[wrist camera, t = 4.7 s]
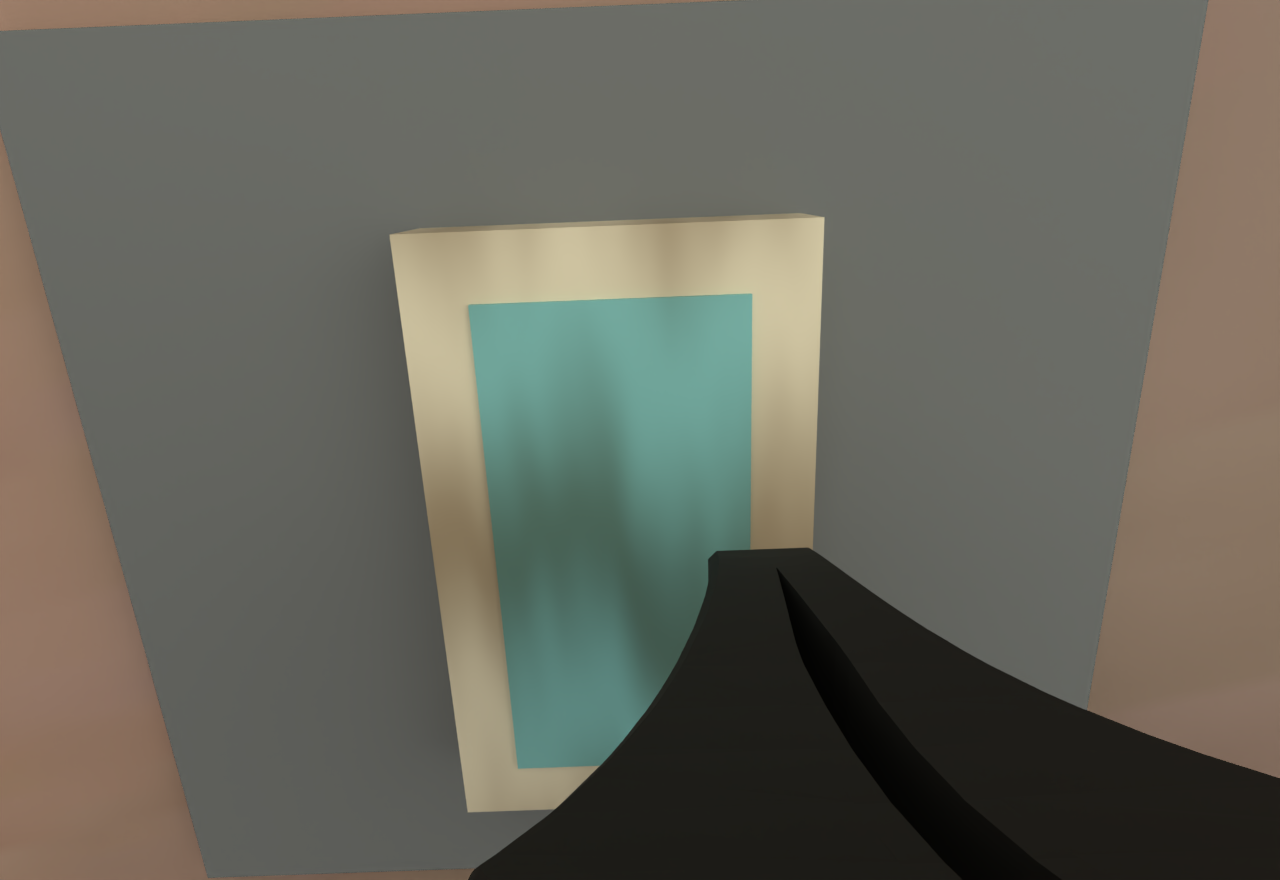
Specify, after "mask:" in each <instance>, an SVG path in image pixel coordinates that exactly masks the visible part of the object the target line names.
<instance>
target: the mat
mask: <svg viewBox="0 0 1280 880" xmlns="http://www.w3.org/2000/svg"><path fill="white" fill-rule="evenodd" d="M1207 5H1208V0H739V1H715V2H690V3H666V4H642V5H618V6H594V7H569V8H545V9H521V10H497V11H473V12H448V13H424V14H400V15H376V16H352V17H327V18H303V19H279V20H255V21H231V22H206V23H182V24H158V25H134V26H110V27H85V28H61V29H37V30H13V31H0V130H1V134H2V138H3V141H4V145H5V148H6V152H7V156H8V159H9V163H10V166H11V170H12V174H13V177H14V181H15V184H16V188H17V192H18V195H19V199H20V202H21V206H22V210H23V213H24V217H25V220H26V224H27V228H28V231H29V235H30V239H31V242H32V246H33V249H34V253H35V257H36V260H37V264H38V267H39V271H40V275H41V278H42V282H43V285H44V289H45V293H46V296H47V300H48V303H49V307H50V311H51V314H52V318H53V321H54V325H55V329H56V332H57V336H58V339H59V343H60V347H61V350H62V354H63V357H64V361H65V365H66V368H67V372H68V375H69V379H70V383H71V386H72V390H73V394H74V397H75V401H76V404H77V408H78V412H79V415H80V419H81V422H82V426H83V430H84V433H85V437H86V440H87V444H88V448H89V451H90V455H91V458H92V462H93V466H94V469H95V473H96V476H97V480H98V484H99V487H100V491H101V494H102V498H103V502H104V505H105V509H106V512H107V516H108V520H109V523H110V527H111V530H112V534H113V538H114V541H115V545H116V548H117V552H118V556H119V559H120V563H121V566H122V570H123V574H124V577H125V581H126V585H127V588H128V592H129V595H130V599H131V603H132V606H133V610H134V613H135V617H136V621H137V624H138V628H139V631H140V635H141V639H142V642H143V646H144V649H145V653H146V657H147V660H148V664H149V667H150V671H151V675H152V678H153V682H154V685H155V689H156V693H157V696H158V700H159V703H160V707H161V711H162V714H163V718H164V721H165V725H166V729H167V732H168V736H169V739H170V743H171V747H172V750H173V754H174V758H175V761H176V765H177V768H178V772H179V776H180V779H181V783H182V786H183V790H184V794H185V797H186V801H187V804H188V808H189V812H190V815H191V819H192V822H193V826H194V830H195V833H196V837H197V840H198V844H199V848H200V851H201V855H202V858H203V862H204V866H205V869H206V873H207V876H208V878H216V877H244V876H272V875H300V874H328V873H356V872H384V871H412V870H440V869H468V868H477V867H478V866H479V865H481V864H482V863H484V862H485V861H487V860H488V859H490V858H491V857H493V856H494V855H496V854H497V853H498V852H500V851H501V850H502V849H504V848H505V847H506V846H508V845H509V844H510V843H512V842H513V841H514V840H516V839H517V838H518V837H520V836H521V835H522V834H524V833H525V832H526V831H528V830H529V829H530V828H532V827H533V826H534V825H536V824H537V823H538V822H540V821H541V820H542V819H544V818H545V817H546V816H548V815H549V814H550V813H551V812H552V811H553V810H555V809H548V810H520V811H493V812H468V810H467V803H466V796H465V788H464V781H463V774H462V766H461V759H460V752H459V744H458V737H457V729H456V722H455V715H454V707H453V700H452V693H451V685H450V678H449V670H448V663H447V656H446V648H445V641H444V634H443V626H442V619H441V611H440V604H439V597H438V589H437V582H436V575H435V567H434V560H433V552H432V545H431V538H430V530H429V523H428V516H427V508H426V501H425V494H424V486H423V479H422V471H421V464H420V457H419V449H418V442H417V435H416V427H415V420H414V412H413V405H412V398H411V390H410V383H409V376H408V368H407V361H406V353H405V346H404V339H403V331H402V324H401V317H400V309H399V302H398V294H397V287H396V280H395V272H394V265H393V258H392V250H391V243H390V234H395V233H399V232H404V231H409V230H414V229H419V228H439V227H464V226H489V225H514V224H539V223H564V222H589V221H614V220H639V219H664V218H689V217H714V216H739V215H764V214H789V213H803V214H809V215H815V216H820V217H825V218H824V246H823V274H822V302H821V330H820V358H819V386H818V415H817V443H816V471H815V499H814V527H813V551H815V552H817V553H818V554H820V555H821V556H823V557H824V558H825V559H827V560H828V561H830V562H831V563H832V564H834V565H835V566H836V567H838V568H839V569H841V570H842V571H843V572H845V573H846V574H848V575H849V576H850V577H852V578H853V579H854V580H856V581H857V582H859V583H860V584H861V585H863V586H864V587H866V588H867V589H868V590H870V591H871V592H873V593H874V594H875V595H877V596H878V597H880V598H881V599H883V600H884V601H886V602H887V603H888V604H890V605H891V606H893V607H894V608H896V609H897V610H899V611H900V612H902V613H903V614H905V615H906V616H908V617H909V618H911V619H913V620H914V621H916V622H917V623H919V624H920V625H922V626H923V627H925V628H927V629H928V630H930V631H932V632H933V633H935V634H937V635H938V636H940V637H942V638H943V639H945V640H947V641H948V642H950V643H952V644H953V645H955V646H957V647H958V648H960V649H962V650H963V651H965V652H967V653H969V654H971V655H972V656H974V657H976V658H978V659H980V660H982V661H983V662H985V663H987V664H989V665H991V666H993V667H995V668H997V669H999V670H1001V671H1003V672H1005V673H1007V674H1009V675H1011V676H1013V677H1015V678H1017V679H1019V680H1021V681H1023V682H1025V683H1027V684H1029V685H1031V686H1033V687H1035V688H1037V689H1039V690H1042V691H1044V692H1046V693H1048V694H1050V695H1052V696H1055V697H1057V698H1059V699H1061V700H1064V701H1066V702H1068V703H1071V704H1073V705H1075V706H1077V707H1080V708H1082V709H1085V710H1087V706H1088V700H1089V694H1090V689H1091V683H1092V677H1093V671H1094V665H1095V659H1096V654H1097V648H1098V642H1099V636H1100V630H1101V624H1102V619H1103V613H1104V607H1105V601H1106V595H1107V589H1108V583H1109V578H1110V572H1111V566H1112V560H1113V554H1114V548H1115V543H1116V537H1117V531H1118V525H1119V519H1120V513H1121V508H1122V502H1123V496H1124V490H1125V484H1126V478H1127V472H1128V467H1129V461H1130V455H1131V449H1132V443H1133V437H1134V432H1135V426H1136V420H1137V414H1138V408H1139V402H1140V397H1141V391H1142V385H1143V379H1144V373H1145V367H1146V361H1147V356H1148V350H1149V344H1150V338H1151V332H1152V326H1153V321H1154V315H1155V309H1156V303H1157V297H1158V291H1159V286H1160V280H1161V274H1162V268H1163V262H1164V256H1165V250H1166V245H1167V239H1168V233H1169V227H1170V221H1171V215H1172V210H1173V204H1174V198H1175V192H1176V186H1177V180H1178V175H1179V169H1180V163H1181V157H1182V151H1183V145H1184V139H1185V134H1186V128H1187V122H1188V116H1189V110H1190V104H1191V99H1192V93H1193V87H1194V81H1195V75H1196V69H1197V64H1198V58H1199V52H1200V46H1201V40H1202V34H1203V28H1204V23H1205V17H1206V11H1207Z"/></svg>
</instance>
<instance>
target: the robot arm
mask: <svg viewBox="0 0 1280 880" xmlns="http://www.w3.org/2000/svg"><path fill="white" fill-rule="evenodd" d="M468 880H1280V778H1277V777H1273V776H1270V775H1267V774H1264V773H1261V772H1258V771H1255V770H1251V769H1248V768H1245V767H1242V766H1239V765H1236V764H1233V763H1229V762H1226V761H1223V760H1220V759H1217V758H1214V757H1210V756H1207V755H1204V754H1201V753H1198V752H1195V751H1193V750H1190V749H1187V748H1184V747H1181V746H1178V745H1176V744H1173V743H1170V742H1167V741H1164V740H1161V739H1159V738H1156V737H1153V736H1150V735H1148V734H1145V733H1142V732H1140V731H1137V730H1135V729H1132V728H1130V727H1127V726H1125V725H1122V724H1120V723H1117V722H1115V721H1112V720H1110V719H1107V718H1105V717H1102V716H1100V715H1097V714H1095V713H1092V712H1090V711H1087V710H1085V709H1082V708H1080V707H1077V706H1075V705H1073V704H1071V703H1068V702H1066V701H1064V700H1061V699H1059V698H1057V697H1055V696H1052V695H1050V694H1048V693H1046V692H1044V691H1042V690H1039V689H1037V688H1035V687H1033V686H1031V685H1029V684H1027V683H1025V682H1023V681H1021V680H1019V679H1017V678H1015V677H1013V676H1011V675H1009V674H1007V673H1005V672H1003V671H1001V670H999V669H997V668H995V667H993V666H991V665H989V664H987V663H985V662H983V661H982V660H980V659H978V658H976V657H974V656H972V655H971V654H969V653H967V652H965V651H963V650H962V649H960V648H958V647H957V646H955V645H953V644H952V643H950V642H948V641H947V640H945V639H943V638H942V637H940V636H938V635H937V634H935V633H933V632H932V631H930V630H928V629H927V628H925V627H923V626H922V625H920V624H919V623H917V622H916V621H914V620H913V619H911V618H909V617H908V616H906V615H905V614H903V613H902V612H900V611H899V610H897V609H896V608H894V607H893V606H891V605H890V604H888V603H887V602H886V601H884V600H883V599H881V598H880V597H878V596H877V595H875V594H874V593H873V592H871V591H870V590H868V589H867V588H866V587H864V586H863V585H861V584H860V583H859V582H857V581H856V580H854V579H853V578H852V577H850V576H849V575H848V574H846V573H845V572H843V571H842V570H841V569H839V568H838V567H836V566H835V565H834V564H832V563H831V562H830V561H828V560H827V559H825V558H824V557H823V556H821V555H820V554H818V553H817V552H815V551H813V550H812V549H810V548H808V547H806V548H779V549H753V550H727V551H716V552H715V553H714V554H713V555H712V556H711V557H710V558H709V559H708V586H707V590H706V594H705V598H704V600H703V603H702V606H701V609H700V612H699V614H698V617H697V620H696V623H695V625H694V628H693V630H692V632H691V634H690V636H689V638H688V640H687V642H686V645H685V647H684V649H683V651H682V653H681V655H680V657H679V659H678V661H677V663H676V665H675V666H674V668H673V670H672V672H671V673H670V675H669V677H668V678H667V680H666V682H665V683H664V685H663V687H662V688H661V690H660V691H659V693H658V694H657V696H656V697H655V699H654V700H653V702H652V703H651V705H650V706H649V707H648V709H647V710H646V712H645V713H644V714H643V715H642V717H641V718H640V719H639V721H638V722H637V723H636V724H635V726H634V727H633V728H632V729H631V731H630V732H629V733H628V735H627V736H626V737H625V738H624V740H623V741H622V742H621V743H620V744H619V745H618V747H617V748H616V749H615V750H614V751H613V752H612V754H611V755H610V756H609V757H608V758H607V759H606V760H605V761H604V762H603V763H602V764H601V765H600V766H599V767H598V768H597V769H596V770H595V771H594V772H593V773H592V774H591V775H590V776H589V777H588V778H587V779H586V780H585V781H584V782H583V783H582V784H581V785H580V786H579V787H578V788H577V789H576V790H575V791H574V792H573V793H572V794H570V795H569V796H568V797H567V798H566V799H565V800H564V801H563V802H562V803H561V804H560V805H559V806H558V807H557V808H556V809H555V810H553V811H552V812H551V813H550V814H549V815H548V816H546V817H545V818H544V819H542V820H541V821H540V822H538V823H537V824H536V825H534V826H533V827H532V828H530V829H529V830H528V831H526V832H525V833H524V834H522V835H521V836H520V837H518V838H517V839H516V840H514V841H513V842H512V843H510V844H509V845H508V846H506V847H505V848H504V849H502V850H501V851H500V852H498V853H497V854H496V855H494V856H493V857H491V858H490V859H488V860H487V861H485V862H484V863H482V864H481V865H479V866H478V867H477V868H476V869H475V870H474V871H473V872H472V873H471V875H470V877H469V879H468Z"/></svg>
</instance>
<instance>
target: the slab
mask: <svg viewBox="0 0 1280 880" xmlns="http://www.w3.org/2000/svg"><path fill="white" fill-rule="evenodd" d="M824 218H825V217H820V216H815V215H809V214H803V213H789V214H764V215H739V216H714V217H689V218H664V219H639V220H614V221H589V222H564V223H539V224H514V225H489V226H464V227H439V228H419V229H414V230H409V231H404V232H399V233H395V234H390V243H391V250H392V258H393V265H394V272H395V280H396V287H397V294H398V302H399V309H400V317H401V324H402V331H403V339H404V346H405V353H406V361H407V368H408V376H409V383H410V390H411V398H412V405H413V412H414V420H415V427H416V435H417V442H418V449H419V457H420V464H421V471H422V479H423V486H424V494H425V501H426V508H427V516H428V523H429V530H430V538H431V545H432V552H433V560H434V567H435V575H436V582H437V589H438V597H439V604H440V611H441V619H442V626H443V634H444V641H445V648H446V656H447V663H448V670H449V678H450V685H451V693H452V700H453V707H454V715H455V722H456V729H457V737H458V744H459V752H460V759H461V766H462V774H463V781H464V788H465V796H466V803H467V810H468V812H493V811H520V810H548V809H556V808H557V807H558V806H559V805H560V804H561V803H562V802H563V801H564V800H565V799H566V798H567V797H568V796H569V795H570V794H572V793H573V792H574V791H575V790H576V789H577V788H578V787H579V786H580V785H581V784H582V783H583V782H584V781H585V780H586V779H587V778H588V777H589V776H590V775H591V774H592V773H593V772H594V771H595V770H596V769H597V768H598V767H599V766H600V765H601V764H602V763H603V762H604V761H605V760H606V759H607V758H608V757H609V756H610V755H611V754H612V752H613V751H614V750H615V749H616V748H617V747H618V745H619V744H620V743H621V742H622V741H623V740H624V738H625V737H626V736H627V735H628V733H629V732H630V731H631V729H632V728H633V727H634V726H635V724H636V723H637V722H638V721H639V719H640V718H641V717H642V715H643V714H644V713H645V712H646V710H647V709H648V707H649V706H650V705H651V703H652V702H653V700H654V699H655V697H656V696H657V694H658V693H659V691H660V690H661V688H662V687H663V685H664V683H665V682H666V680H667V678H668V677H669V675H670V673H671V672H672V670H673V668H674V666H675V665H676V663H677V661H678V659H679V657H680V655H681V653H682V651H683V649H684V647H685V645H686V642H687V640H688V638H689V636H690V634H691V632H692V630H693V628H694V625H695V623H696V620H697V617H698V614H699V612H700V609H701V606H702V603H703V600H704V598H705V594H706V590H707V586H708V559H709V558H710V557H711V556H712V555H713V554H714V553H715V552H716V551H727V550H753V549H779V548H806V547H808V548H810V549H812V550H813V527H814V499H815V471H816V443H817V415H818V386H819V358H820V330H821V302H822V274H823V246H824Z"/></svg>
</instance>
